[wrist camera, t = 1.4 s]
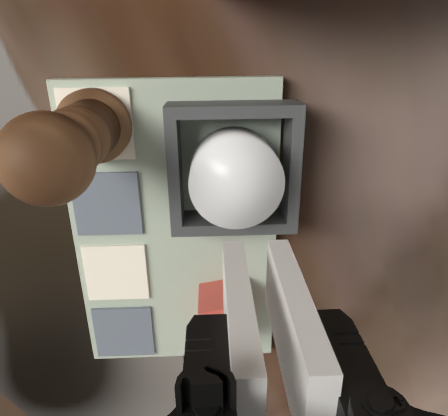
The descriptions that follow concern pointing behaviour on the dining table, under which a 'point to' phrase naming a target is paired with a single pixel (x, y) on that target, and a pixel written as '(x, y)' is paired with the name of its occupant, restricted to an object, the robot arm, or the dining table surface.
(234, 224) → the dome
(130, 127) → the pawn
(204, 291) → the die
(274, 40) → the dining table surface
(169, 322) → the board
